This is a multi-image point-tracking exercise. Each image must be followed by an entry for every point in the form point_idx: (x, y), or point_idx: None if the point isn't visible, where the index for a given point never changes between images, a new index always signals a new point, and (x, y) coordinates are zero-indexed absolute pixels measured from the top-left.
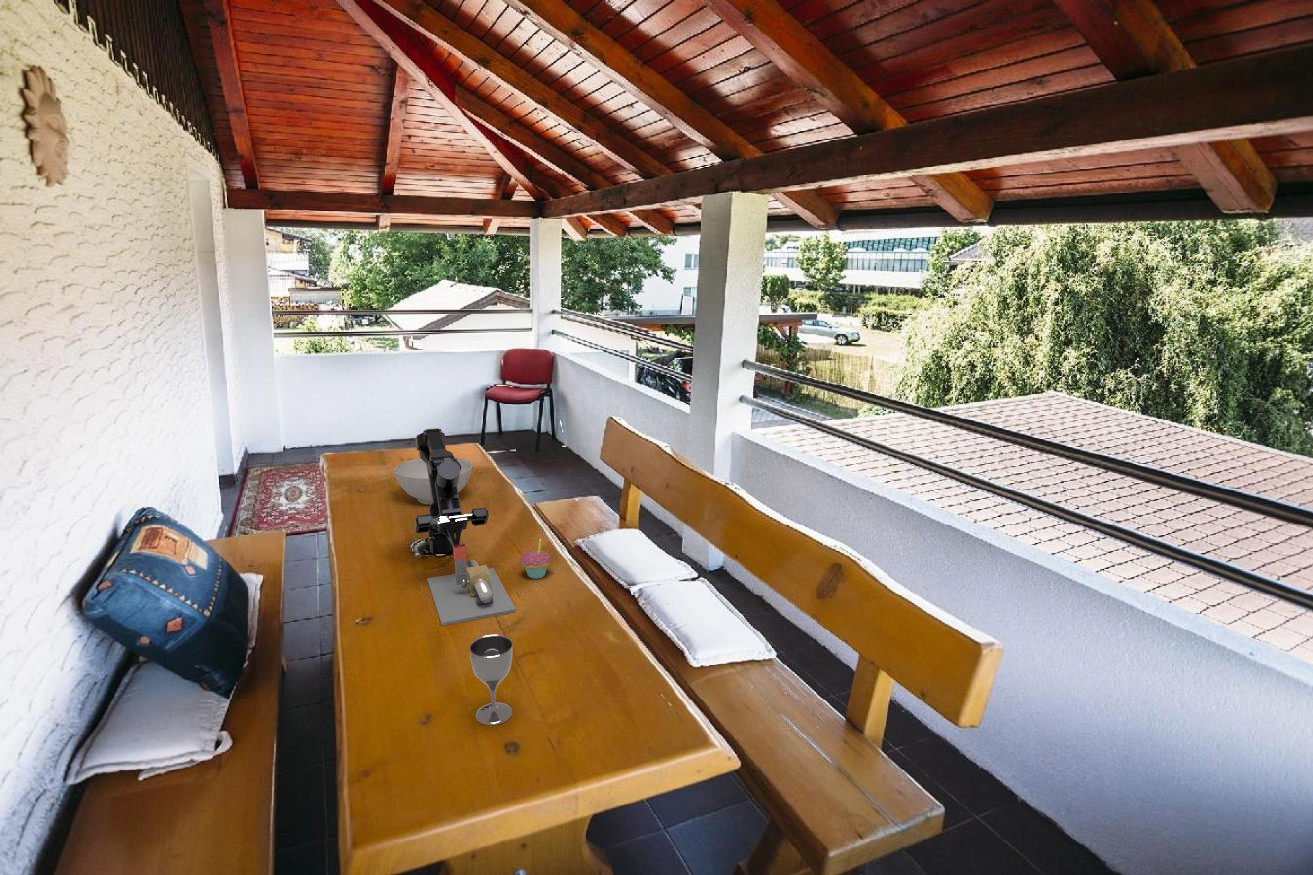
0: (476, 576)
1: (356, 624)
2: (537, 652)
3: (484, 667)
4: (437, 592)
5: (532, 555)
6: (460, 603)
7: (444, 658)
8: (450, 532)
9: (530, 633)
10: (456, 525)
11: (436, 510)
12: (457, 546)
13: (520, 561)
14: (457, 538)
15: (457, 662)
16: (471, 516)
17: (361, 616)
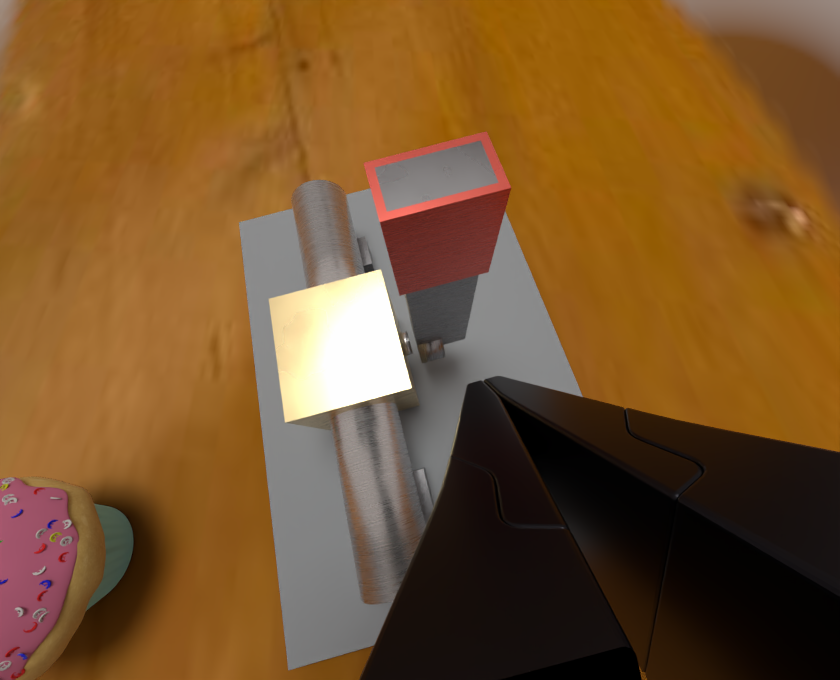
0: (348, 281)
1: (785, 192)
2: (223, 50)
3: None
4: (551, 381)
5: None
6: None
7: (447, 36)
8: (670, 436)
9: (223, 120)
10: (623, 667)
11: None
12: (454, 157)
13: (82, 556)
14: (495, 420)
15: (413, 24)
16: None
17: (799, 242)
